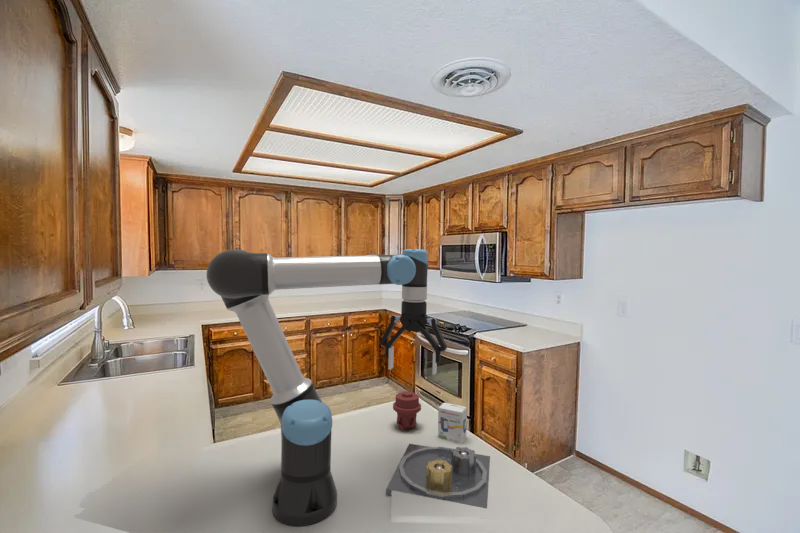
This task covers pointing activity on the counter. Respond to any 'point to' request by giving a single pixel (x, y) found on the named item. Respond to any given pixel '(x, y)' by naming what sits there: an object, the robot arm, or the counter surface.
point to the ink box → (452, 422)
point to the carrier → (417, 457)
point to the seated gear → (463, 461)
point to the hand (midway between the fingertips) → (412, 371)
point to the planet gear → (439, 475)
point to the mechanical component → (407, 409)
